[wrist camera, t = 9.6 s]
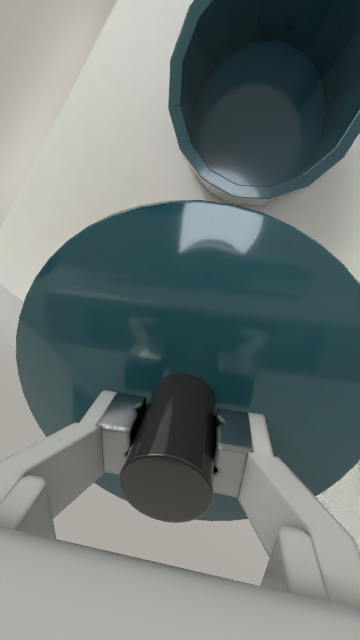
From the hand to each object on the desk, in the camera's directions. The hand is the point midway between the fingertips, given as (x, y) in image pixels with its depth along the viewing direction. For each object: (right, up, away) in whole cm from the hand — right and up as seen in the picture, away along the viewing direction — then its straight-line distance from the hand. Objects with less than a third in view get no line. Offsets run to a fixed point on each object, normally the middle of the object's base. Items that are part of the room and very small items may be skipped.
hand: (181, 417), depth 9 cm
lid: (0, +1, +1) cm, 2 cm away
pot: (+7, +20, +14) cm, 26 cm away
